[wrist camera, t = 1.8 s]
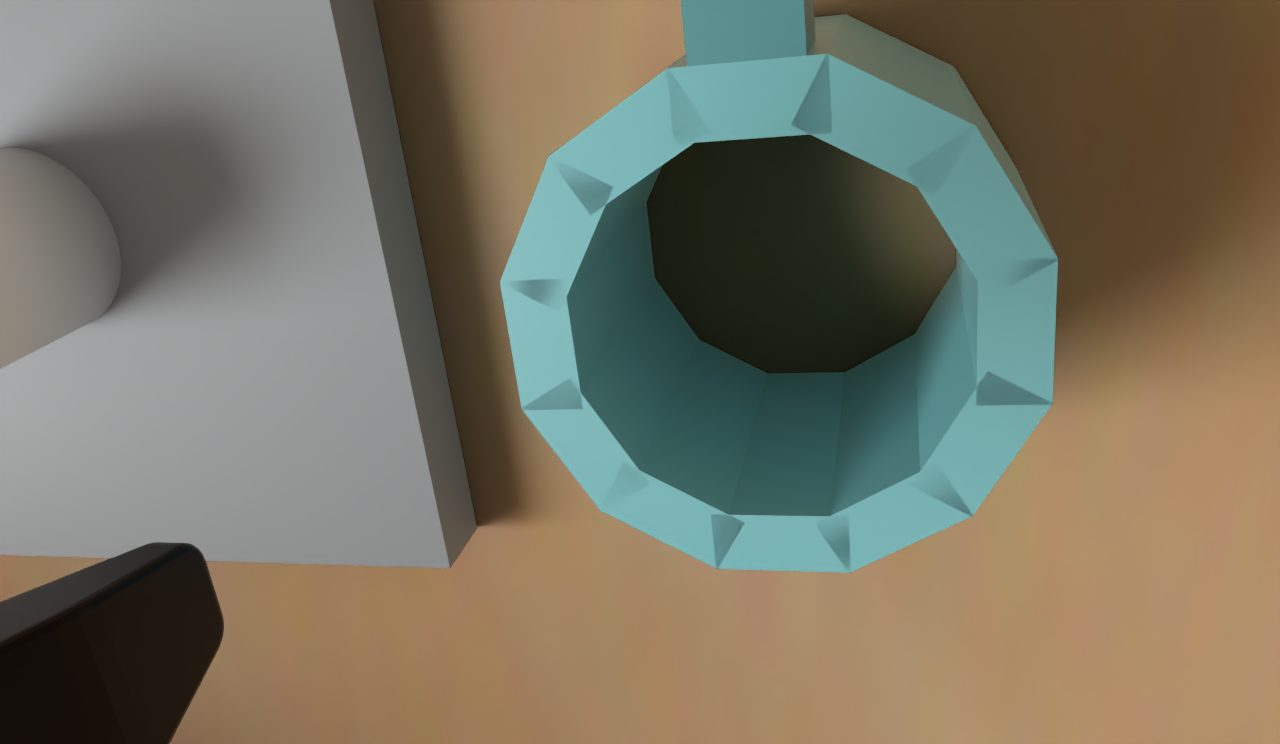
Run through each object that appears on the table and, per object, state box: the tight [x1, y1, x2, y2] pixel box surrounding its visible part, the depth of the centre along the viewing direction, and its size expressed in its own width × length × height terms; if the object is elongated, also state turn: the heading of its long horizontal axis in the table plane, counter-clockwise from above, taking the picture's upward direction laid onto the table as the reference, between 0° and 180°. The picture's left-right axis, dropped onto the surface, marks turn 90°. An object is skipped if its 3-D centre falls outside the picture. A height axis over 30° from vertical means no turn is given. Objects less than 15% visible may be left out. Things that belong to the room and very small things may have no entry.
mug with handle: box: [500, 0, 1058, 573], centre depth 16 cm, size 8×7×5 cm
